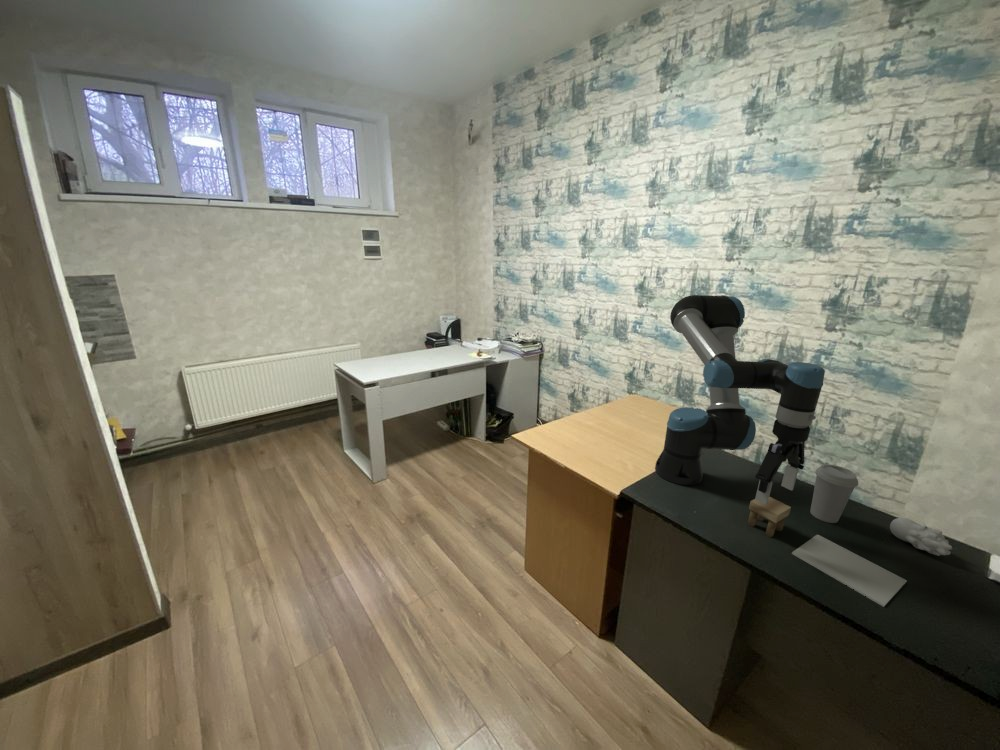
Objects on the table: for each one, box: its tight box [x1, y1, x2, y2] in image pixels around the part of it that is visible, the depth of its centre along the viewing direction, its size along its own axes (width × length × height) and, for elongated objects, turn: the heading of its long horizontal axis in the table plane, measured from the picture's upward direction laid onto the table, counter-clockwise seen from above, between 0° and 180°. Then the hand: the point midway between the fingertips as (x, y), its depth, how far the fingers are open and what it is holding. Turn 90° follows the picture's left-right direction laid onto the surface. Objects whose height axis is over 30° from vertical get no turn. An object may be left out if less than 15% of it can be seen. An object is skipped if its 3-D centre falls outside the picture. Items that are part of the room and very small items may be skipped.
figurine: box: [889, 517, 953, 557], centre depth 102 cm, size 7×7×12 cm
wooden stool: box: [747, 496, 792, 538], centre depth 108 cm, size 7×7×8 cm
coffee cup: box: [809, 463, 859, 524], centre depth 112 cm, size 10×10×15 cm
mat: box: [791, 534, 908, 608], centre depth 95 cm, size 18×14×1 cm
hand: (774, 494), depth 106 cm, fingers open, 13 cm apart
